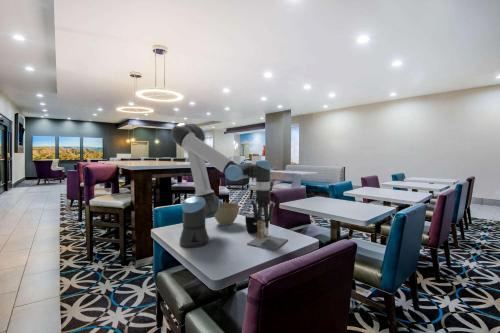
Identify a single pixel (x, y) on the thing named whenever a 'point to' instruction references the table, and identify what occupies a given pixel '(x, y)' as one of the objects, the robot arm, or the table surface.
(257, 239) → the mat
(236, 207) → the flower pot
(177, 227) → the table surface
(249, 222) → the mug
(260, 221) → the tile
